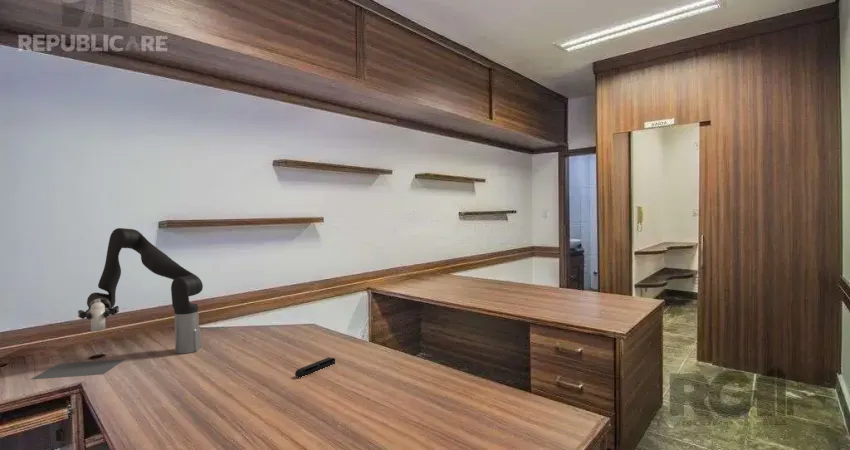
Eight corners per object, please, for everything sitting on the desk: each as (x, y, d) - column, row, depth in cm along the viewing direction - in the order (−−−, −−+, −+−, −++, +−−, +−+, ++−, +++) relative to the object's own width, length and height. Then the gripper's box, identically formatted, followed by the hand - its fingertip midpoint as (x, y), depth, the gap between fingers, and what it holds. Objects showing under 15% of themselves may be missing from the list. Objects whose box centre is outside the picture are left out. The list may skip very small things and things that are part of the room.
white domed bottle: (107, 327, 171) (107, 298, 171) (101, 330, 167) (100, 300, 166) (95, 328, 170) (94, 298, 170) (88, 331, 166) (87, 301, 165)
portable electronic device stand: (299, 379, 153) (299, 371, 153) (295, 377, 154) (295, 370, 154) (335, 364, 167) (335, 357, 167) (331, 363, 169) (331, 356, 169)
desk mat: (125, 360, 172) (125, 359, 172) (103, 375, 156) (103, 374, 156) (59, 364, 167) (59, 363, 167) (29, 380, 152) (29, 379, 152)
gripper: (78, 301, 176) (74, 309, 162) (119, 297, 184) (119, 304, 170) (78, 318, 176) (74, 328, 162) (120, 313, 184) (119, 322, 171)
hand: (97, 316), depth 166 cm, fingers closed on white domed bottle, 4 cm apart
